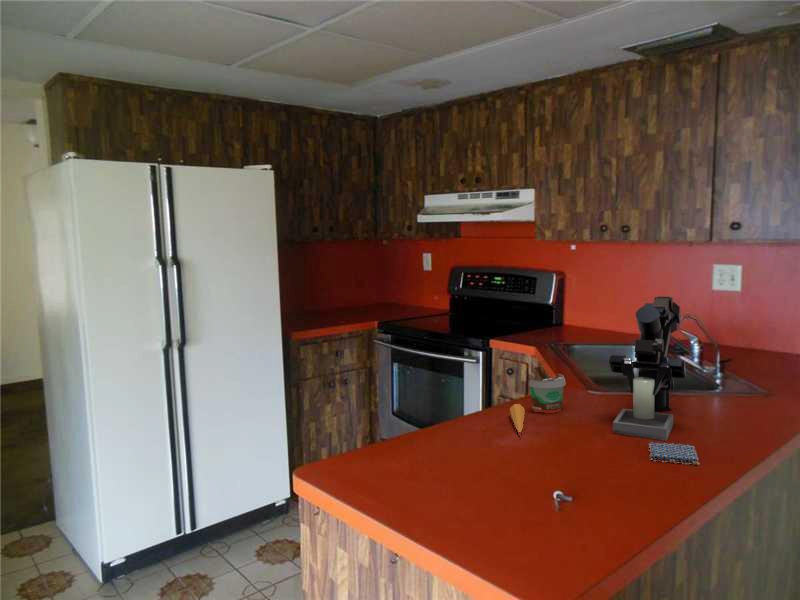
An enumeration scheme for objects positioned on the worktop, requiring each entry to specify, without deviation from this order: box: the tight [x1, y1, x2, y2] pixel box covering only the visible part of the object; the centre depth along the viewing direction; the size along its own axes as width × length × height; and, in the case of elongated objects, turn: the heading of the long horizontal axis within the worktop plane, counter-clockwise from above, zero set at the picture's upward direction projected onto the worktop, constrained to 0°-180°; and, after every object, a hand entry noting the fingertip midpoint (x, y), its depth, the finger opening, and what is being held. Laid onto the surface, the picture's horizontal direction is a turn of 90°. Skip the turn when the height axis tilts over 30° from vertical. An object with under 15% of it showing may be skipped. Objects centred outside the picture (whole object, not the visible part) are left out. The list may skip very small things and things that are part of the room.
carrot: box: [509, 403, 526, 432], centre depth 163 cm, size 20×4×4 cm, turn 171°
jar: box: [632, 376, 655, 419], centre depth 156 cm, size 5×5×10 cm
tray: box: [612, 408, 674, 442], centre depth 157 cm, size 13×13×3 cm
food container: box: [528, 373, 567, 410], centre depth 175 cm, size 12×6×10 cm, turn 117°
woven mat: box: [647, 440, 701, 466], centre depth 139 cm, size 10×11×2 cm
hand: (642, 393), depth 155 cm, fingers closed on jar, 5 cm apart
